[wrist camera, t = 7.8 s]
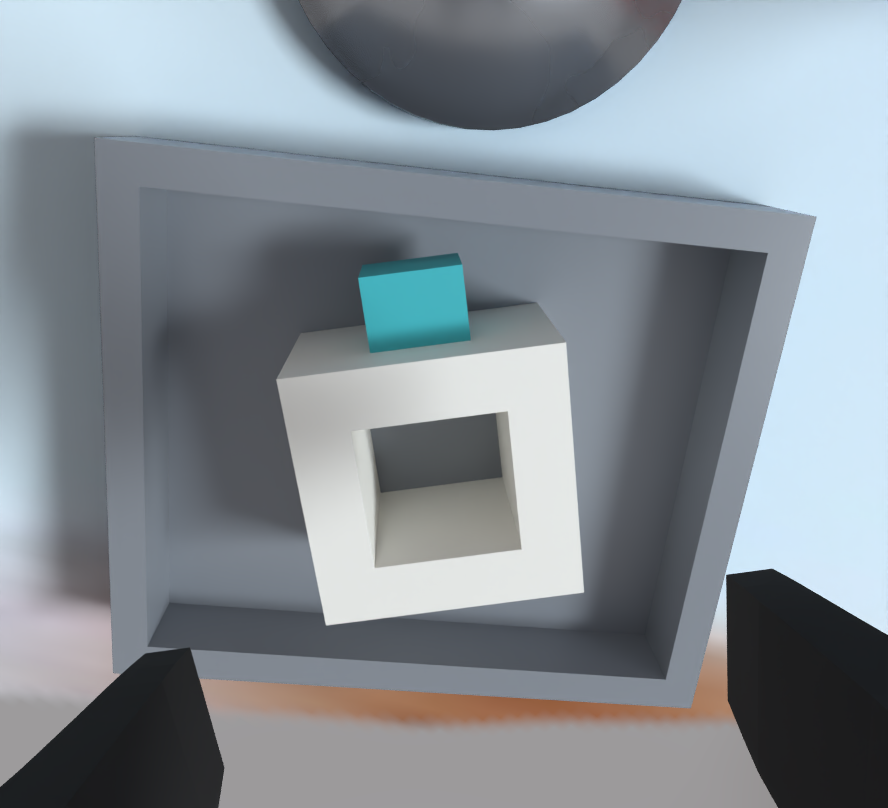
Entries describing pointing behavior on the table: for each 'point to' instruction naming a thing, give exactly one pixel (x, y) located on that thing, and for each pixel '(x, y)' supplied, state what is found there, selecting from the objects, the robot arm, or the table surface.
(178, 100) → the table surface
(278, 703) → the table surface
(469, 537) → the collar
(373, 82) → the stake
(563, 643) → the tray
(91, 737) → the robot arm
